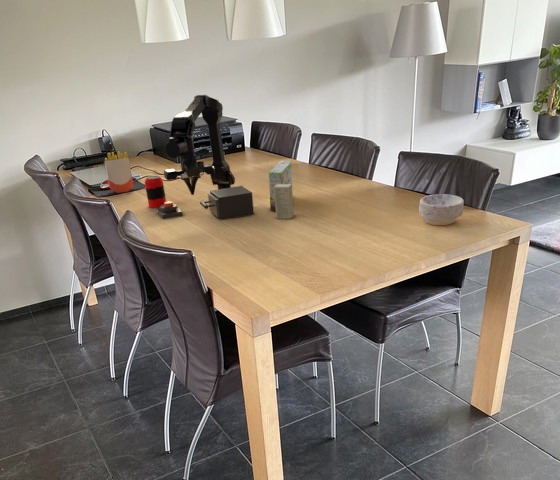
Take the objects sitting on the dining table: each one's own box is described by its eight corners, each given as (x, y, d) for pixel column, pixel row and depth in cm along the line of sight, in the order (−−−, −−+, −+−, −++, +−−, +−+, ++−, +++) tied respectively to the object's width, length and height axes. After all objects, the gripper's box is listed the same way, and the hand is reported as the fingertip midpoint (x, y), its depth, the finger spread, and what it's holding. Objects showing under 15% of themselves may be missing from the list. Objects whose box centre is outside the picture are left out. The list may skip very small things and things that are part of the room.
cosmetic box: (294, 215, 223) (292, 183, 217) (290, 219, 220) (289, 186, 213) (279, 215, 225) (277, 183, 219) (275, 218, 222) (273, 186, 215)
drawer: (207, 219, 222) (205, 201, 219) (199, 212, 232) (197, 195, 228) (247, 212, 227) (246, 195, 224) (238, 205, 236) (237, 189, 233)
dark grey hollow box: (221, 219, 224) (218, 197, 219) (212, 212, 234) (209, 190, 230) (253, 214, 228) (252, 192, 223) (243, 206, 238) (242, 185, 233)
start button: (163, 206, 234) (162, 202, 233) (172, 204, 235) (171, 200, 234) (165, 208, 231) (164, 204, 230) (174, 207, 232) (173, 202, 231)
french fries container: (110, 192, 273) (101, 152, 263) (132, 188, 276) (125, 149, 267) (111, 194, 269) (103, 154, 260) (134, 190, 273) (127, 150, 263)
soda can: (170, 204, 248) (165, 175, 242) (160, 209, 242) (155, 180, 236) (155, 203, 251) (151, 174, 245) (145, 207, 245) (140, 179, 239)
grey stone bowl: (437, 231, 198) (439, 208, 194) (409, 220, 210) (411, 198, 205) (471, 222, 203) (473, 200, 199) (442, 212, 215) (444, 191, 211)
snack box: (283, 211, 229) (281, 172, 221) (269, 211, 230) (267, 172, 222) (293, 196, 247) (292, 160, 239) (280, 196, 248) (278, 160, 240)
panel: (158, 212, 238) (156, 204, 236) (176, 209, 240) (175, 201, 238) (163, 219, 230) (161, 210, 228) (182, 215, 232) (181, 207, 230)
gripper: (166, 159, 206) (173, 203, 214) (216, 153, 211) (221, 195, 219) (160, 154, 215) (167, 196, 223) (208, 148, 220) (213, 189, 228)
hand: (192, 194), depth 223 cm, fingers closed
